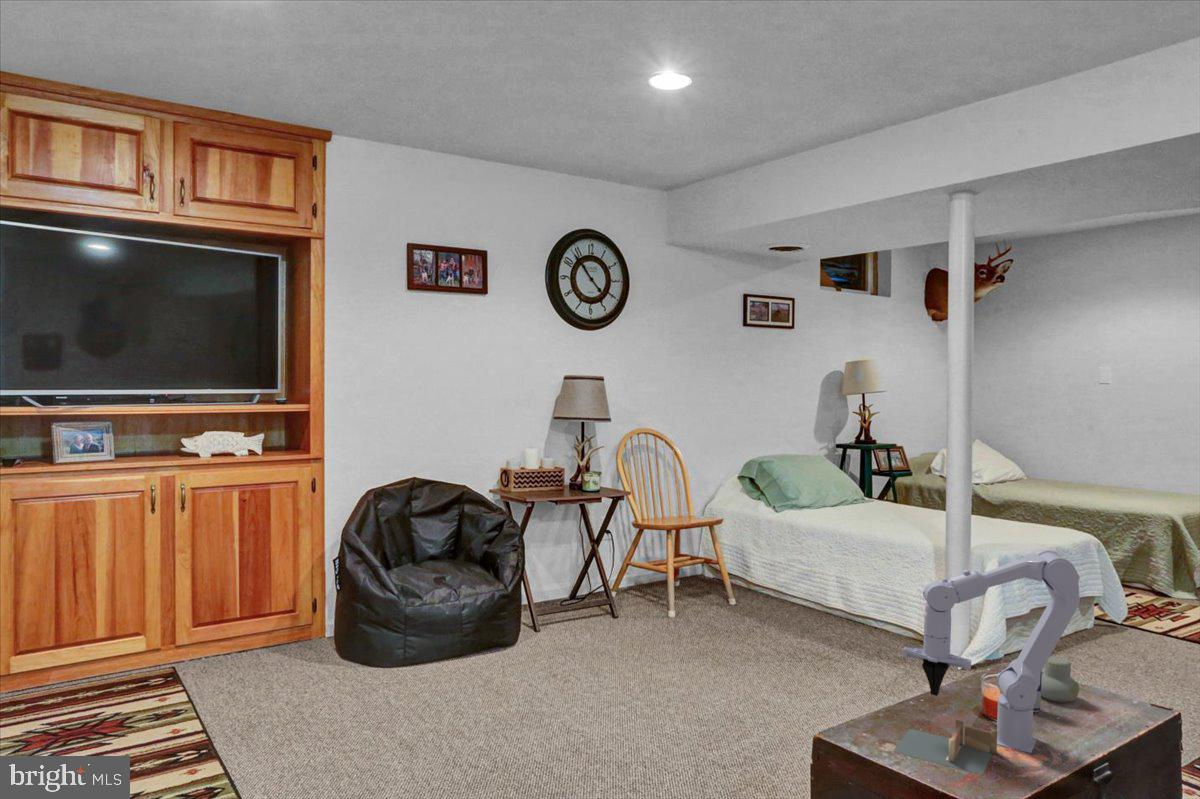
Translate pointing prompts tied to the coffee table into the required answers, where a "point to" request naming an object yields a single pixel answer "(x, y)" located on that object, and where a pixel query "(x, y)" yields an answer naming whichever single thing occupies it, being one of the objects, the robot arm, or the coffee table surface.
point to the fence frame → (978, 738)
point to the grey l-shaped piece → (1058, 681)
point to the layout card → (942, 751)
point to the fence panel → (954, 744)
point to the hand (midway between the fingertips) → (934, 693)
